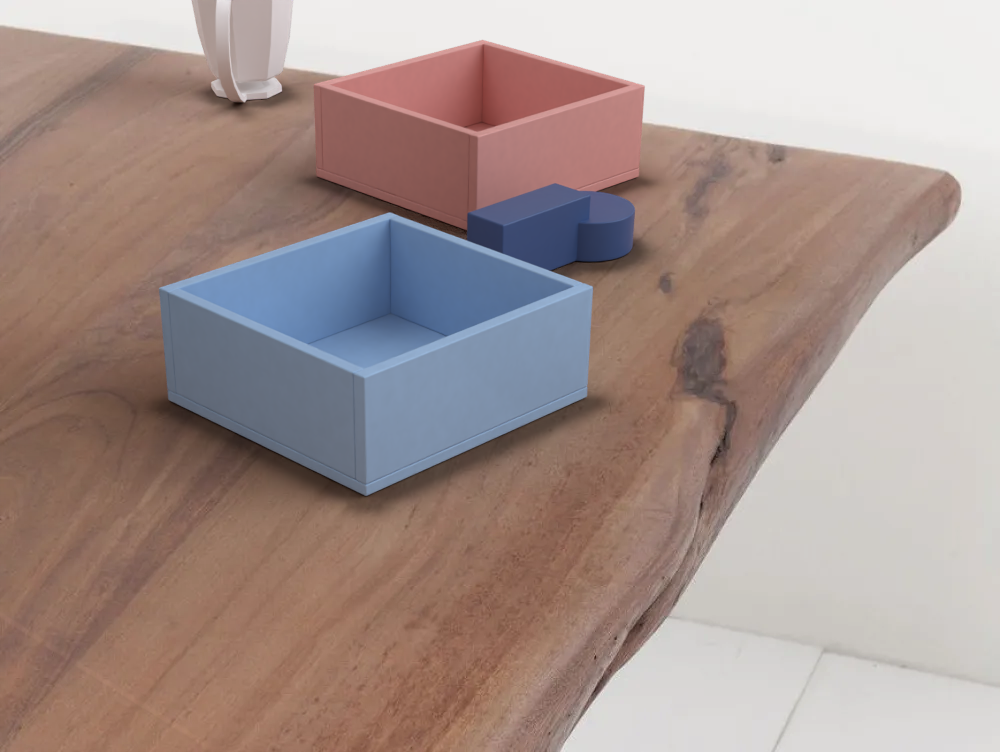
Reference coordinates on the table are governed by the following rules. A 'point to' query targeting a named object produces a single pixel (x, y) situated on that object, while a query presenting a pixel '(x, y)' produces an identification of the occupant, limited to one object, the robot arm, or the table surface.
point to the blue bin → (376, 348)
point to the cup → (244, 45)
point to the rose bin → (475, 129)
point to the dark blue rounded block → (555, 226)
